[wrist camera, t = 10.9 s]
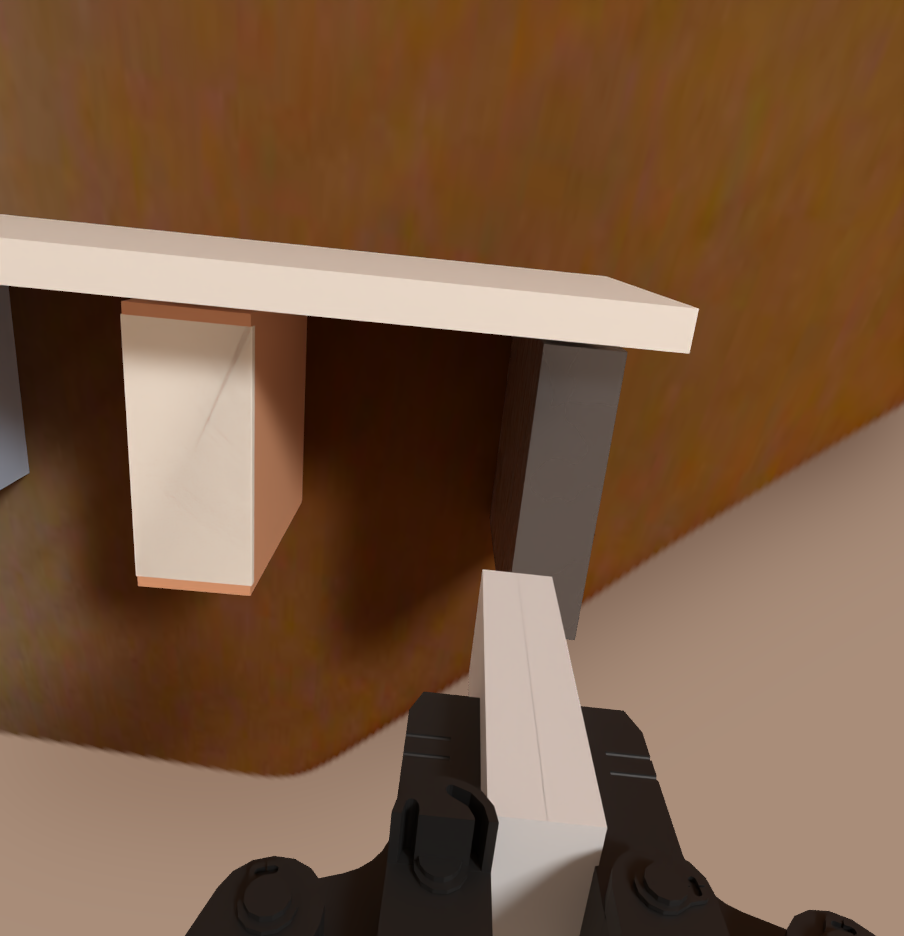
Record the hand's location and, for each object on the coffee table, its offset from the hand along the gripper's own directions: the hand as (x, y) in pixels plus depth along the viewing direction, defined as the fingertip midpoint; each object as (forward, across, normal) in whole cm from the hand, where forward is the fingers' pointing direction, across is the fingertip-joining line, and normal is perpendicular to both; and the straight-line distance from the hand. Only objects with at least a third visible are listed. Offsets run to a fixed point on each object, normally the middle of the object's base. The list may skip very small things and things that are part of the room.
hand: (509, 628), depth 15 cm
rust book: (+18, -11, 0) cm, 20 cm away
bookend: (+18, +2, 0) cm, 18 cm away
